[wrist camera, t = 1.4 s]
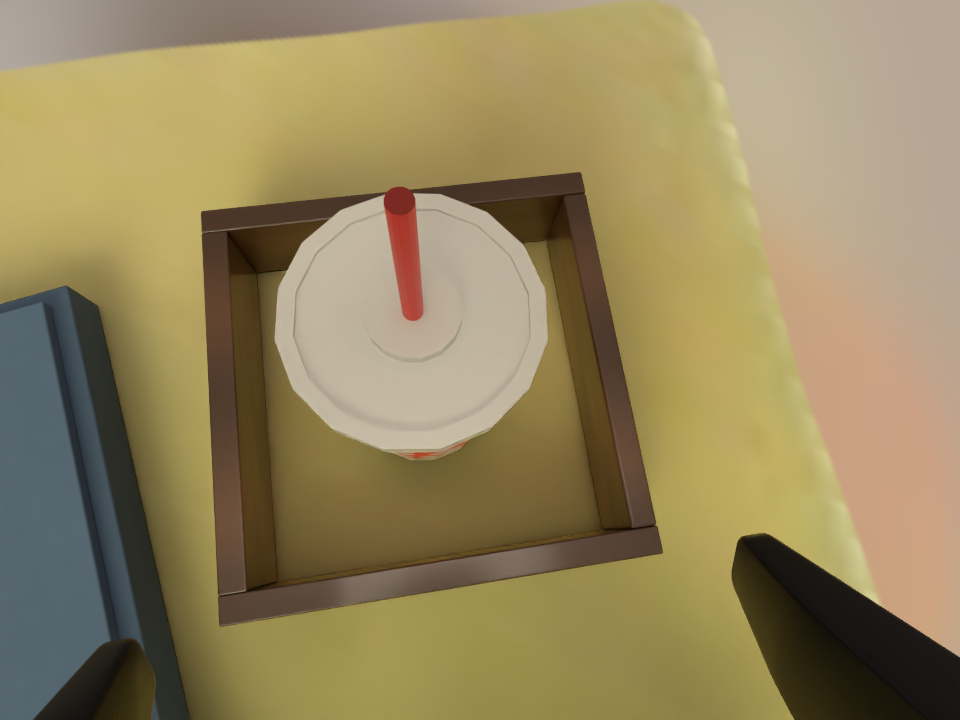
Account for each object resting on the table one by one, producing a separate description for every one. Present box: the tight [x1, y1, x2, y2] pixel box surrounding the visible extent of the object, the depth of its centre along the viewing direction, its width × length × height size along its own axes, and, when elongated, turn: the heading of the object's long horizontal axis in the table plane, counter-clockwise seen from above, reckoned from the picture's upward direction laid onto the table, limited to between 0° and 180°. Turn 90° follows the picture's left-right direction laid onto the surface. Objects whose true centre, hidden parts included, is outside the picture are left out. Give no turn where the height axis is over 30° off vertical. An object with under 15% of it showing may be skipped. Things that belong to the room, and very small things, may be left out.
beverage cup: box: [274, 187, 548, 460], centre depth 16 cm, size 6×6×14 cm
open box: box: [201, 172, 663, 627], centre depth 21 cm, size 13×13×4 cm
